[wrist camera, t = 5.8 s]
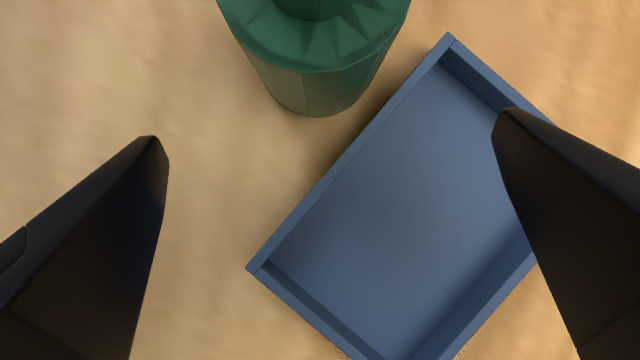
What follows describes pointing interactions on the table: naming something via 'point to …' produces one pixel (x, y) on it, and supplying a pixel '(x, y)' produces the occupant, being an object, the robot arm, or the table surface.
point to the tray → (408, 221)
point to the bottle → (315, 47)
